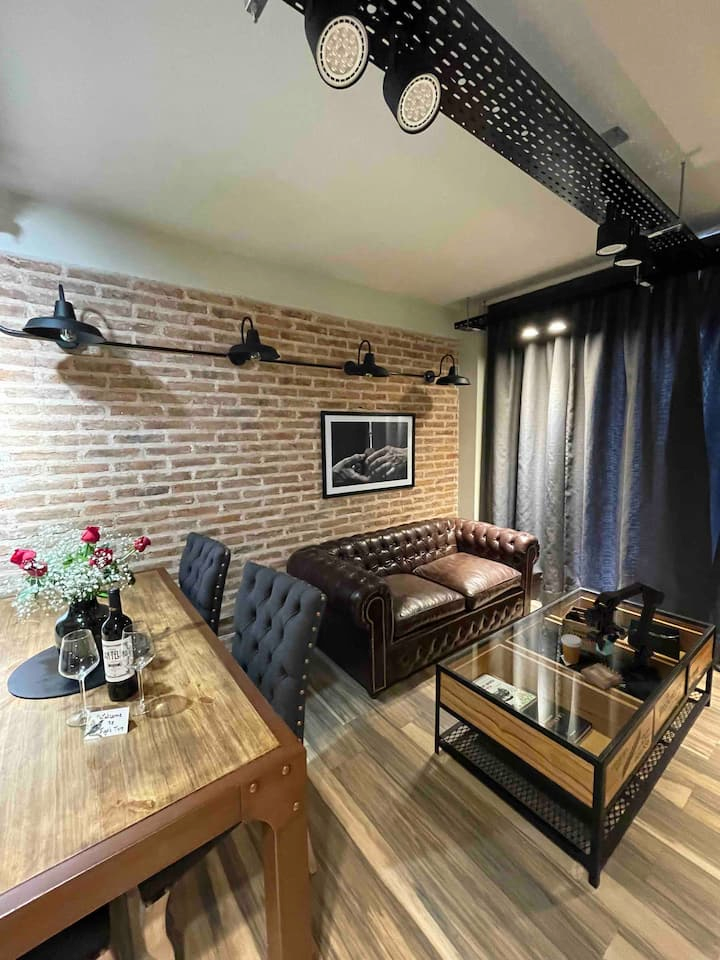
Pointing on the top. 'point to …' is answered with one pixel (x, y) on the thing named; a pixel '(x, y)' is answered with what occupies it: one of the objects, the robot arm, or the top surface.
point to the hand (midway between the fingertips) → (604, 649)
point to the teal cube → (606, 648)
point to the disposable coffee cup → (571, 648)
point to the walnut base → (601, 676)
